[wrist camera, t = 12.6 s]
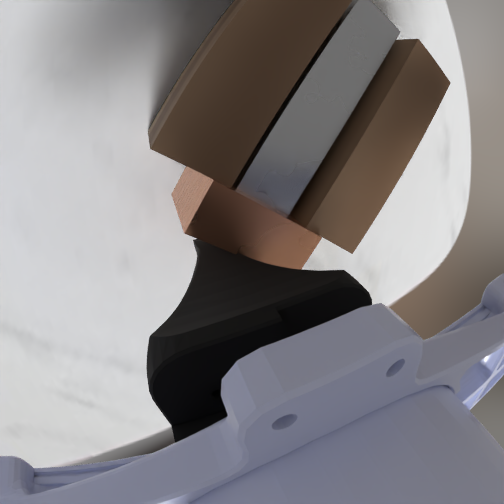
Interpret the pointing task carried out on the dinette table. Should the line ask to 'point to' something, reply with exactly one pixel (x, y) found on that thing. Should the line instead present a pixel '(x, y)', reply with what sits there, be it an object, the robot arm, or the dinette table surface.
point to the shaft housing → (272, 97)
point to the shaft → (289, 149)
